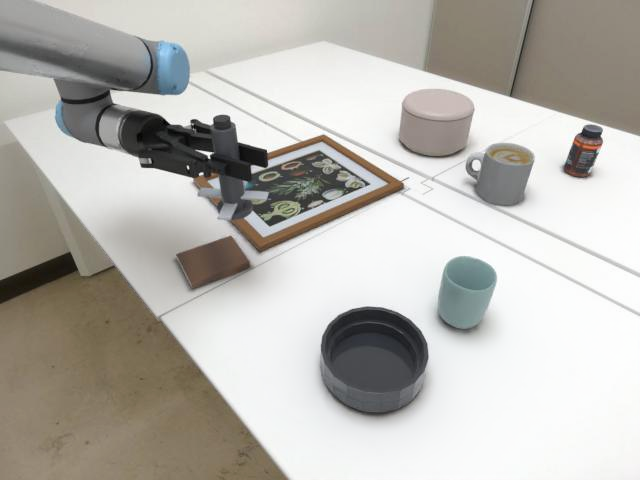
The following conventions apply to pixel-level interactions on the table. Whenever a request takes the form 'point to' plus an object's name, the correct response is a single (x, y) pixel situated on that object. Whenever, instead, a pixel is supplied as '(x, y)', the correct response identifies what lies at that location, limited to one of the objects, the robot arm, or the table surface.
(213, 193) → the blade
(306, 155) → the wall art
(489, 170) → the coffee mug
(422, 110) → the container
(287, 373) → the table surface
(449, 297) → the cup
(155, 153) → the robot arm
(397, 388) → the processor bowl
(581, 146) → the supplement bottle
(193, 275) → the board
